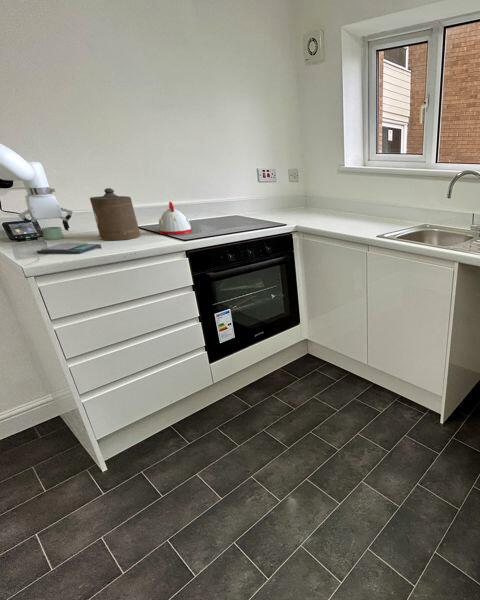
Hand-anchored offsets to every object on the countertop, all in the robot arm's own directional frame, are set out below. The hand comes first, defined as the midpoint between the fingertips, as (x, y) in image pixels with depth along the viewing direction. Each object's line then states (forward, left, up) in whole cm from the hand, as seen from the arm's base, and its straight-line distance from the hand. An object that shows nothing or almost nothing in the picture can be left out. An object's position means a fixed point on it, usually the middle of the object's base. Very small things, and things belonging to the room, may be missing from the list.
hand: (52, 231), depth 156 cm
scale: (+26, -28, -3) cm, 39 cm away
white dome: (+44, +17, -3) cm, 47 cm away
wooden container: (+26, +3, -3) cm, 26 cm away
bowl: (0, 0, -3) cm, 3 cm away
